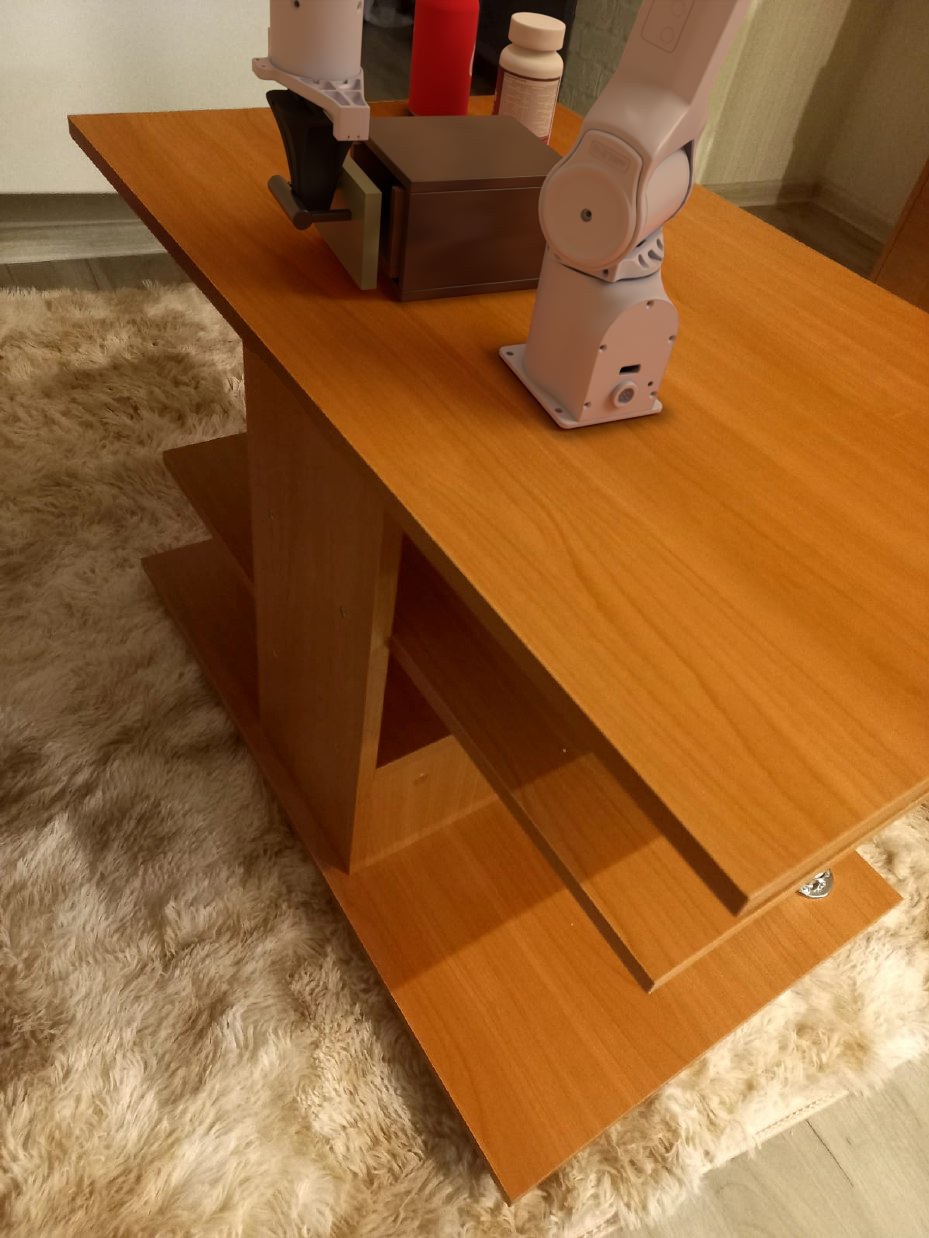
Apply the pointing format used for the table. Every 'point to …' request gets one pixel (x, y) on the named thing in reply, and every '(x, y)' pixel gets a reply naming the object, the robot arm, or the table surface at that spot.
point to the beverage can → (442, 57)
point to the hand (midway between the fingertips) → (312, 208)
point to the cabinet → (465, 202)
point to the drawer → (356, 216)
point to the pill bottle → (530, 72)
